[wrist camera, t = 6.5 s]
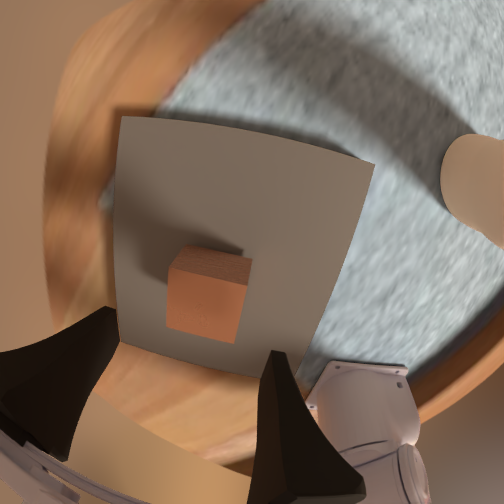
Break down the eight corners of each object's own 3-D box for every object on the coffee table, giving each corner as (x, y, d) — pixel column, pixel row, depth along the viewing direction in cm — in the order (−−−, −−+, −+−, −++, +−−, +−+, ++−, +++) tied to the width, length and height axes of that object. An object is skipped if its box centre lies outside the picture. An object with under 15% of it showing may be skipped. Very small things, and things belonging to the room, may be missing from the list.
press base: (360, 159, 16) (375, 164, 14) (290, 360, 24) (290, 383, 21) (142, 116, 16) (121, 116, 14) (133, 322, 24) (121, 341, 21)
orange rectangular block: (256, 238, 19) (247, 285, 13) (245, 287, 21) (233, 343, 15) (200, 226, 19) (168, 267, 13) (193, 275, 20) (166, 326, 15)
